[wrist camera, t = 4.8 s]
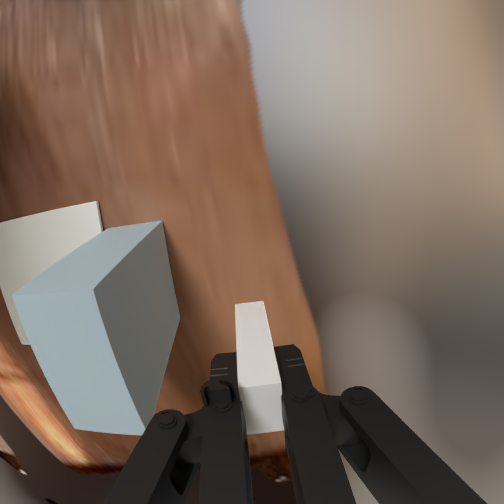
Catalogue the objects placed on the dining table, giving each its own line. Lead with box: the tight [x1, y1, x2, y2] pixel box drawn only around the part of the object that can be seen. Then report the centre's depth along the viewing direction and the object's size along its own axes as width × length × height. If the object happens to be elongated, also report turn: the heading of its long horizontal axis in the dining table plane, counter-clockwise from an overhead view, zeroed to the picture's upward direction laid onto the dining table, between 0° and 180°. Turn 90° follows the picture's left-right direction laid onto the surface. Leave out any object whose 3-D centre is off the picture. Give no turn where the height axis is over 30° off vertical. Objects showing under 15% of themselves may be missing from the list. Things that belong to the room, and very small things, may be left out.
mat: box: [0, 201, 103, 345], centre depth 26 cm, size 15×14×1 cm
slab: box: [12, 221, 180, 435], centre depth 19 cm, size 5×9×14 cm, turn 5°
